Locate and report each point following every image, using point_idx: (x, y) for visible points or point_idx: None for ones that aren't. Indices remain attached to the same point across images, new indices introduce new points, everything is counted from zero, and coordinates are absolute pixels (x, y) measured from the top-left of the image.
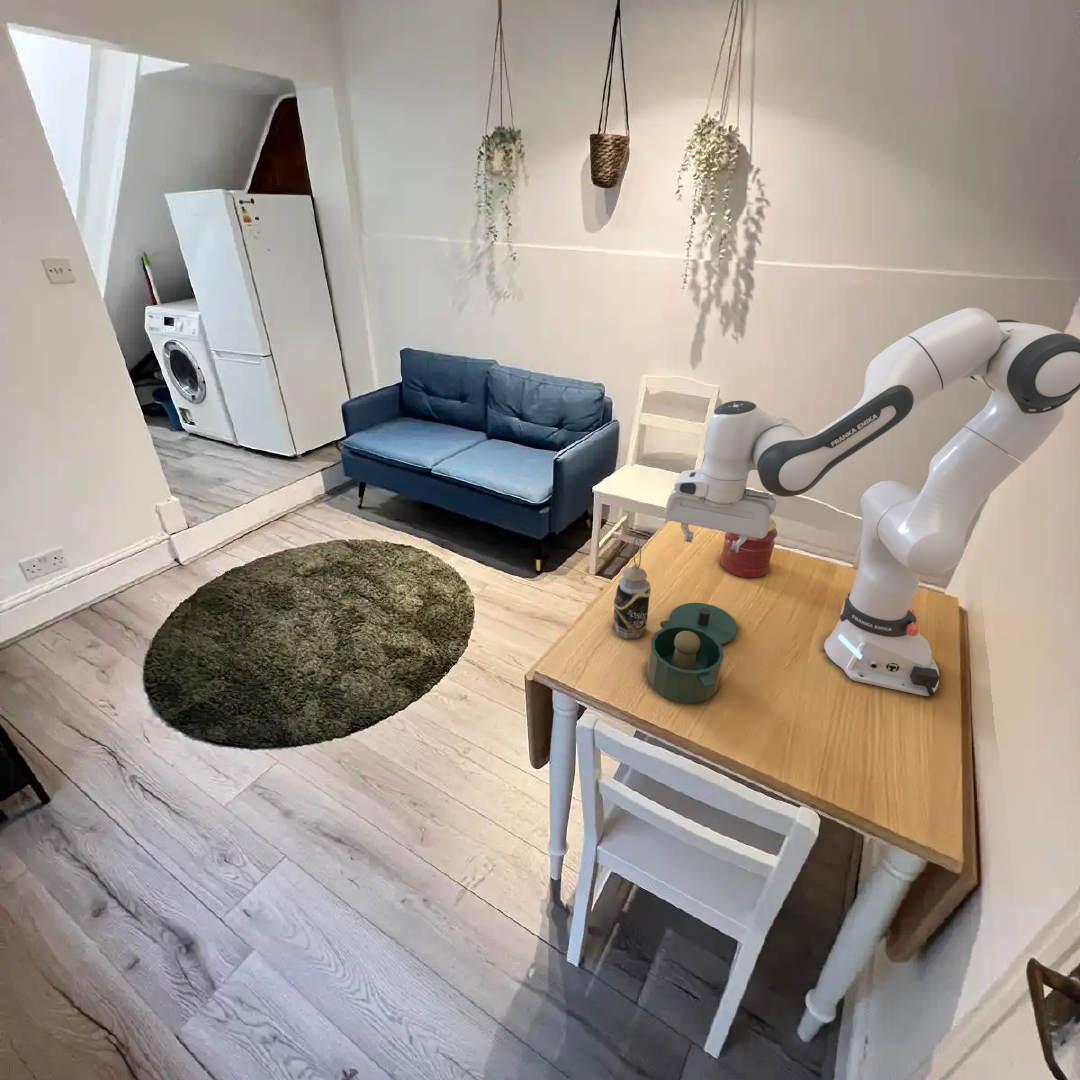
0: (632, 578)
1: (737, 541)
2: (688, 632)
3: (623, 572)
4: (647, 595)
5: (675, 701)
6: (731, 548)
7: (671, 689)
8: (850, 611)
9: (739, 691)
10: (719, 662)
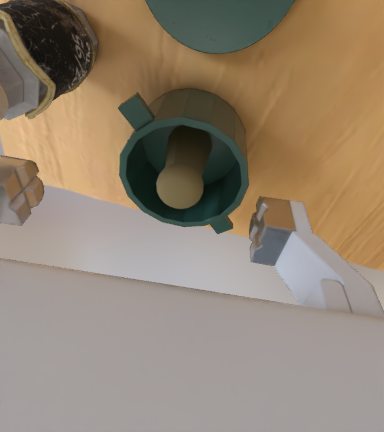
0: None
1: (290, 246)
2: (176, 186)
3: None
4: (50, 96)
5: None
6: (252, 238)
7: None
8: None
9: (279, 150)
10: (239, 201)
